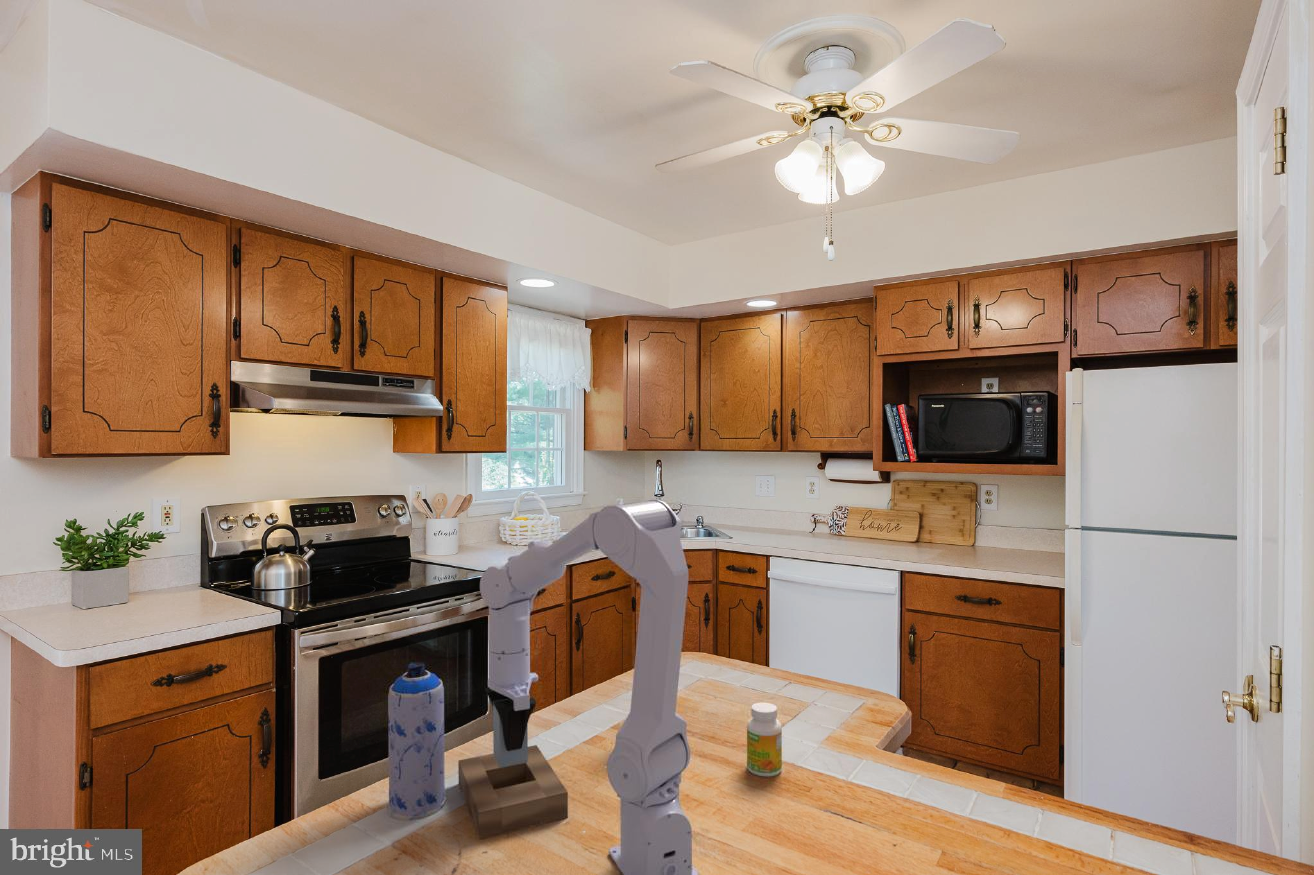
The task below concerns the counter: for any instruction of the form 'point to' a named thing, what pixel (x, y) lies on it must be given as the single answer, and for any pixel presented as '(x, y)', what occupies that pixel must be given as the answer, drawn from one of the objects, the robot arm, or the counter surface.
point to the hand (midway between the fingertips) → (510, 742)
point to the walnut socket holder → (511, 793)
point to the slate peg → (500, 751)
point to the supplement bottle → (764, 740)
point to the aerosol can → (416, 744)
